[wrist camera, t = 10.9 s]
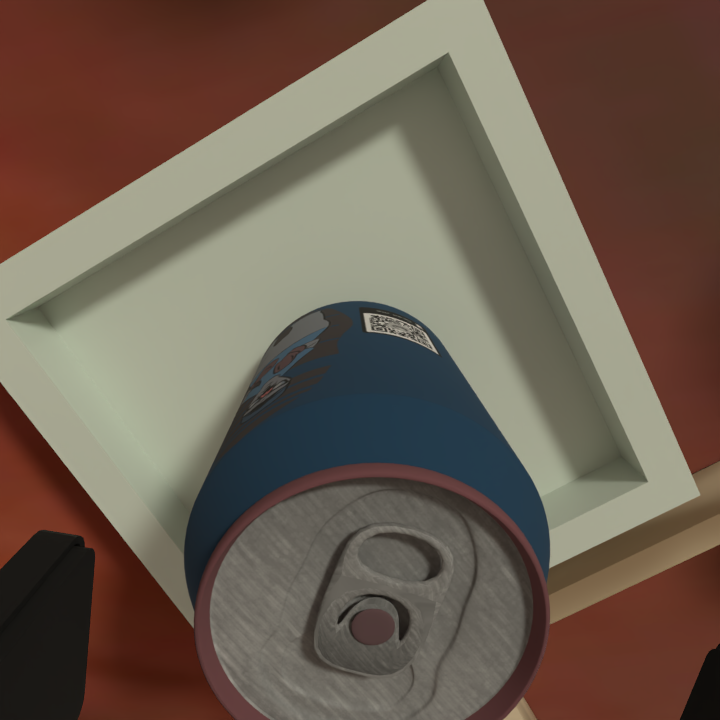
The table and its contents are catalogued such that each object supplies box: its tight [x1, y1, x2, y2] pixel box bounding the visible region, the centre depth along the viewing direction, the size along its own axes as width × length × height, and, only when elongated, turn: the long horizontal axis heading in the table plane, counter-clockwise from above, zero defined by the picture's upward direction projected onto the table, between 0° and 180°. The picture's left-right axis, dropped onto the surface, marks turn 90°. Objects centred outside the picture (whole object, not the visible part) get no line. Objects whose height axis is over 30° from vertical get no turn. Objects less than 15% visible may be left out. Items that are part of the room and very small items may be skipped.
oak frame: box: [503, 461, 720, 720], centre depth 24 cm, size 15×15×2 cm
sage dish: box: [0, 0, 700, 628], centre depth 20 cm, size 18×18×3 cm
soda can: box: [184, 301, 550, 720], centre depth 15 cm, size 7×7×12 cm
